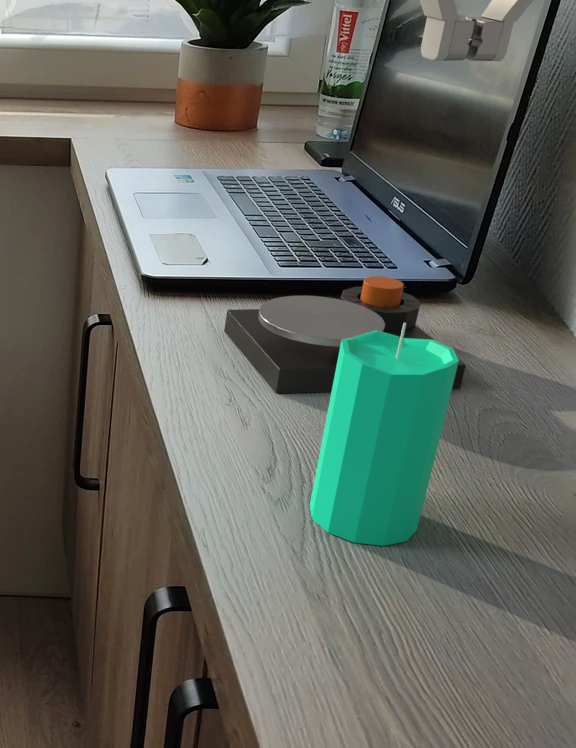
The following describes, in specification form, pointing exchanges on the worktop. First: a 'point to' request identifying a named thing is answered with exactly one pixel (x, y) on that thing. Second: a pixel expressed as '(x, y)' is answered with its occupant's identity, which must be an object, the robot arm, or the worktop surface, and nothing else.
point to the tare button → (382, 291)
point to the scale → (313, 346)
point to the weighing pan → (318, 319)
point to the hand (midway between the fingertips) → (461, 59)
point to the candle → (381, 436)
